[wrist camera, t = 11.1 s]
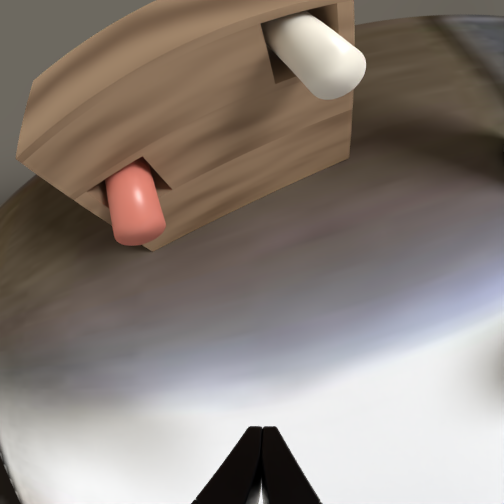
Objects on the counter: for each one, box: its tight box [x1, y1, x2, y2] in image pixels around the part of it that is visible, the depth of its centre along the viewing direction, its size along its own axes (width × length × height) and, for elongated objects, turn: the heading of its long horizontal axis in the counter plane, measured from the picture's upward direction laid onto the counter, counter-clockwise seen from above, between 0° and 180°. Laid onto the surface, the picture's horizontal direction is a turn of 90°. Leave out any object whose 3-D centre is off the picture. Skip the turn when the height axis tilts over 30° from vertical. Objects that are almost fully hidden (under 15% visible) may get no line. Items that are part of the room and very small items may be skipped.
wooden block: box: [16, 0, 355, 252], centre depth 19 cm, size 8×18×15 cm, turn 113°
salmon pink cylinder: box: [105, 156, 166, 246], centre depth 18 cm, size 7×3×3 cm, turn 23°
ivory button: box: [260, 11, 366, 100], centre depth 13 cm, size 7×3×3 cm, turn 23°
